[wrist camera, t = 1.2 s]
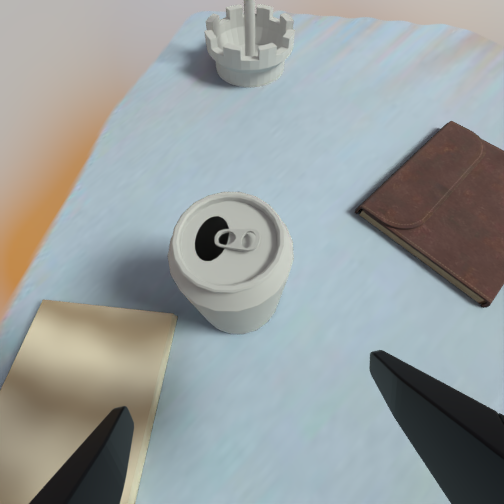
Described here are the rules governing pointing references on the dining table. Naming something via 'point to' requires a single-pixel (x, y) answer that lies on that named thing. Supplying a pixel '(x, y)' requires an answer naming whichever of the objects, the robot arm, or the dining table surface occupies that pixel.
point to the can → (231, 260)
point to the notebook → (448, 210)
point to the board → (79, 390)
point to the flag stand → (249, 44)
